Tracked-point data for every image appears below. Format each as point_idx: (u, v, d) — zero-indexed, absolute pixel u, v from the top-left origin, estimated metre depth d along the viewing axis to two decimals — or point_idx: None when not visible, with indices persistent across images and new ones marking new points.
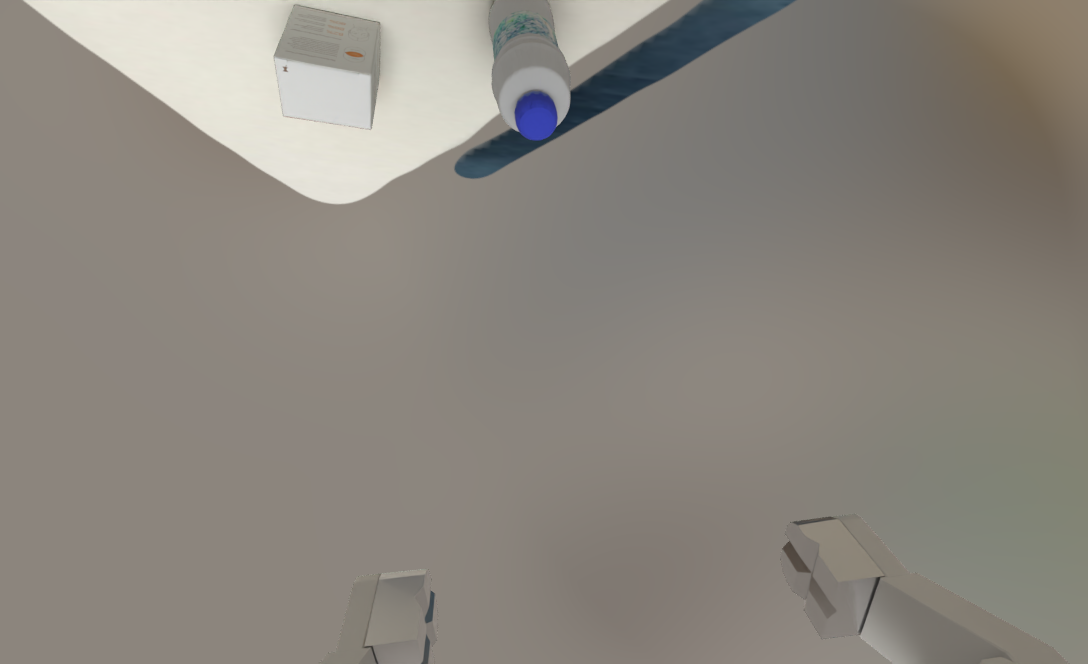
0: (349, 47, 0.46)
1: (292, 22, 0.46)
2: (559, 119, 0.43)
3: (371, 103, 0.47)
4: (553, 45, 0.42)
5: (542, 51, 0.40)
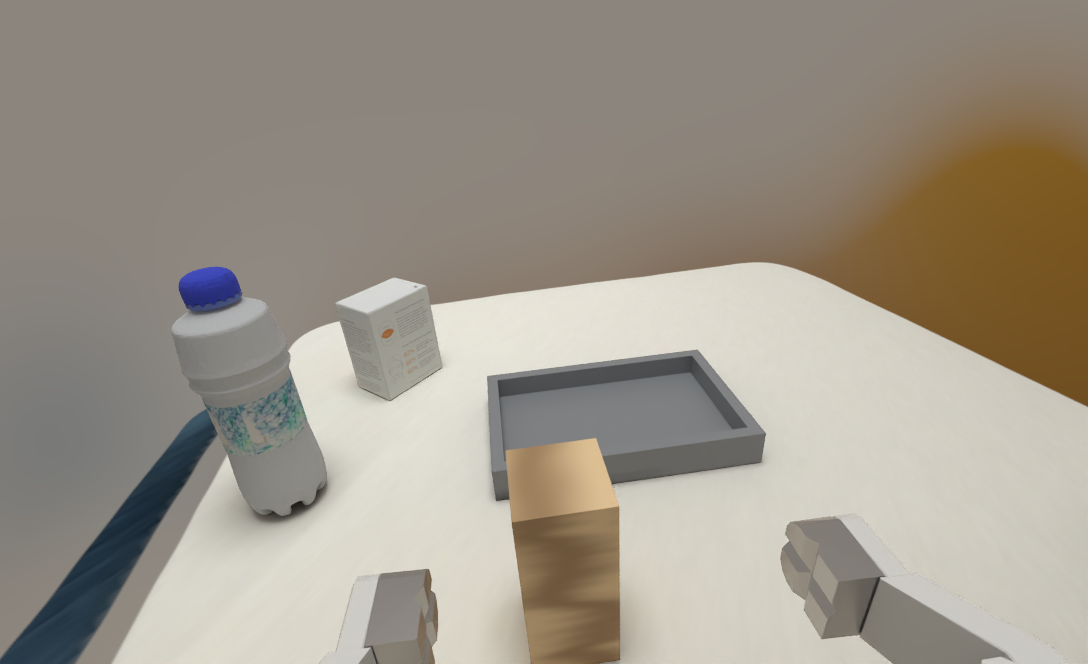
0: (394, 340, 0.53)
1: (434, 339, 0.57)
2: (177, 323, 0.34)
3: (350, 310, 0.51)
4: (243, 386, 0.34)
5: (252, 353, 0.34)
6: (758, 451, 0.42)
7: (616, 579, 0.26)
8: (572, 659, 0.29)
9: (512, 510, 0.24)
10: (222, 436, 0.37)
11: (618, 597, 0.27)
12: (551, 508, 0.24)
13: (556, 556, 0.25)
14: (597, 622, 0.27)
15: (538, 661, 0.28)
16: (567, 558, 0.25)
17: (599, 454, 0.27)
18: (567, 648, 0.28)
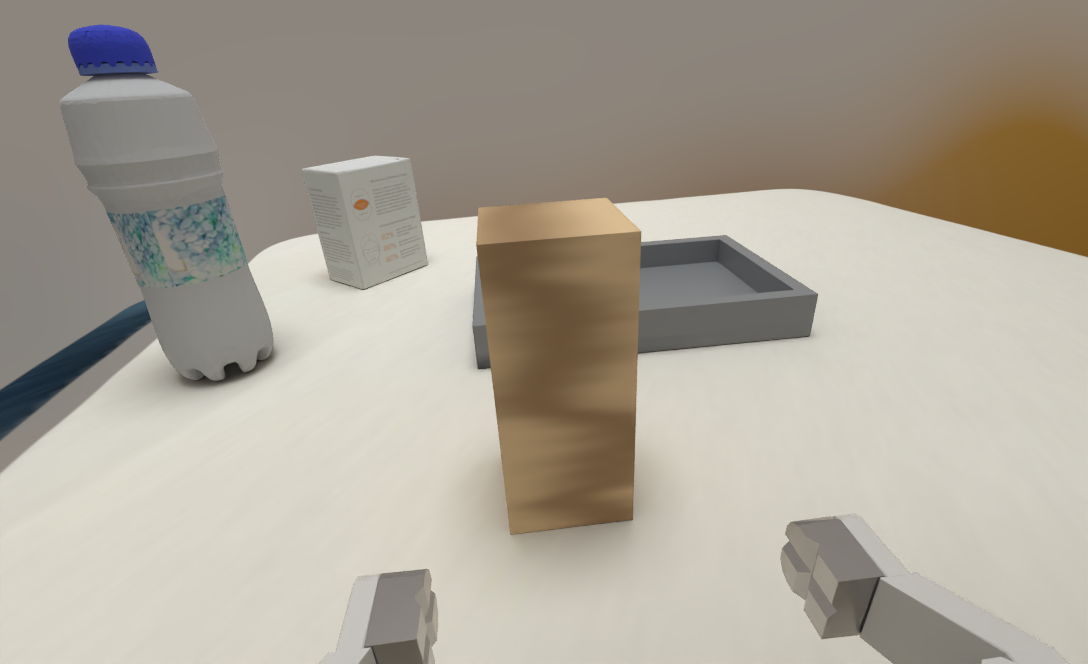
0: (369, 215, 0.45)
1: (418, 228, 0.50)
2: None
3: (318, 173, 0.43)
4: (151, 182, 0.27)
5: (164, 139, 0.27)
6: (807, 320, 0.33)
7: (632, 374, 0.18)
8: (566, 513, 0.20)
9: (479, 238, 0.16)
10: (131, 260, 0.29)
11: (634, 408, 0.18)
12: (539, 235, 0.16)
13: (544, 320, 0.17)
14: (603, 451, 0.19)
15: (518, 512, 0.20)
16: (560, 327, 0.17)
17: (611, 205, 0.19)
18: (559, 493, 0.20)
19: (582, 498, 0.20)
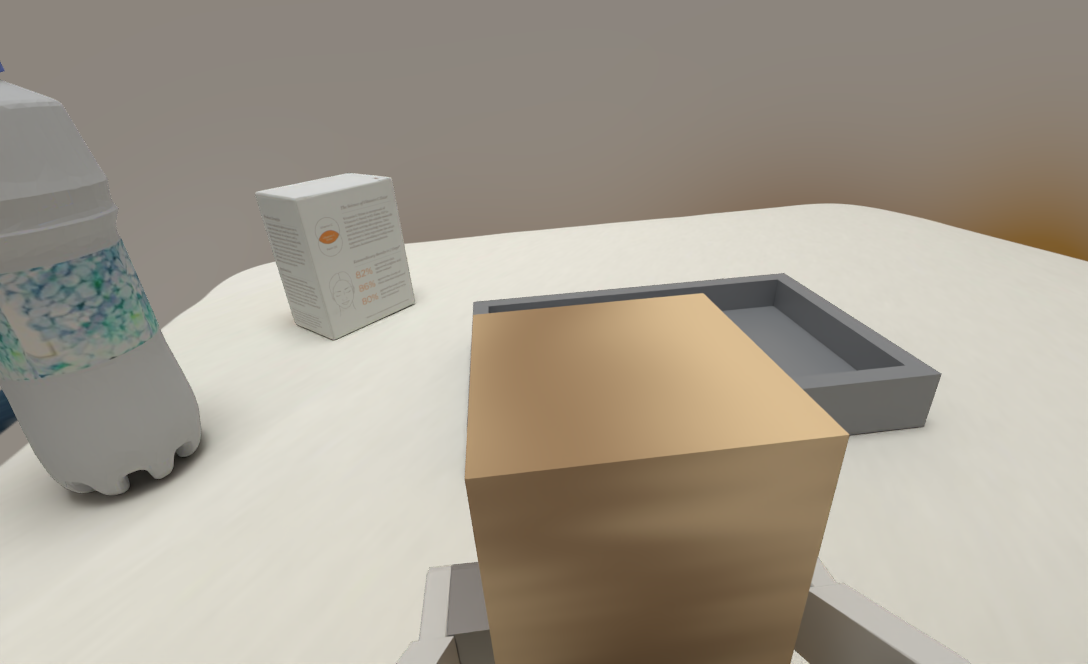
0: (340, 250, 0.36)
1: (403, 261, 0.41)
2: None
3: (273, 198, 0.34)
4: None
5: (2, 170, 0.18)
6: (923, 407, 0.25)
7: None
8: None
9: (472, 443, 0.07)
10: None
11: None
12: (609, 438, 0.07)
13: (614, 602, 0.08)
14: None
15: None
16: (648, 609, 0.08)
17: (724, 320, 0.10)
18: None
19: None
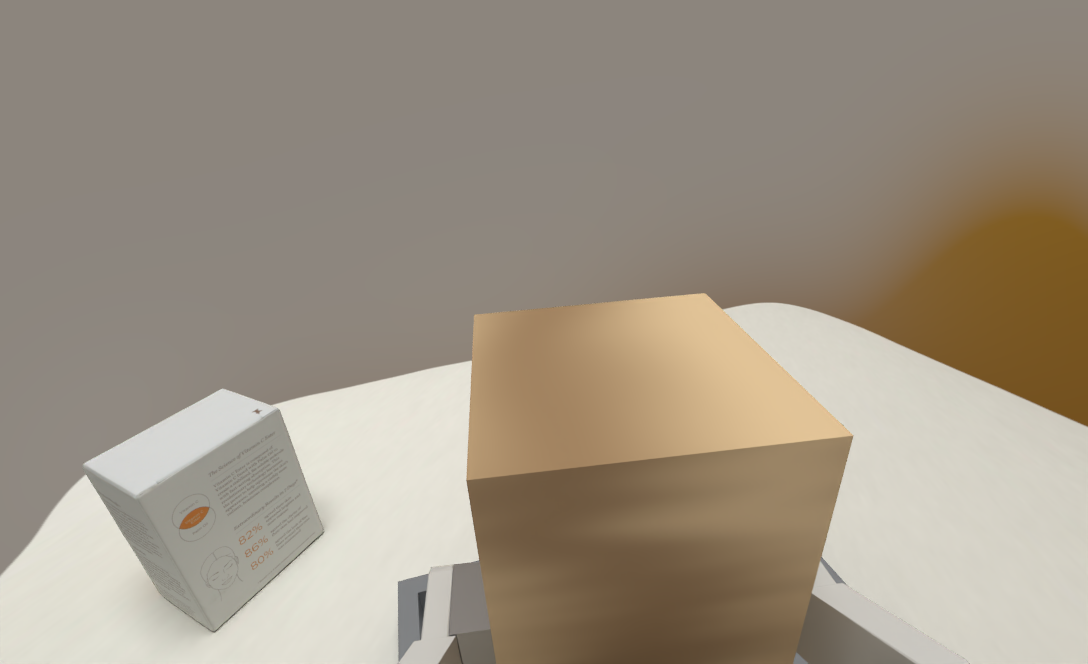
0: (212, 525, 0.28)
1: (303, 494, 0.33)
2: None
3: (107, 482, 0.25)
4: None
5: None
6: None
7: None
8: None
9: (474, 443, 0.07)
10: None
11: None
12: (611, 438, 0.07)
13: (616, 604, 0.08)
14: None
15: None
16: (649, 611, 0.08)
17: (725, 320, 0.10)
18: None
19: None
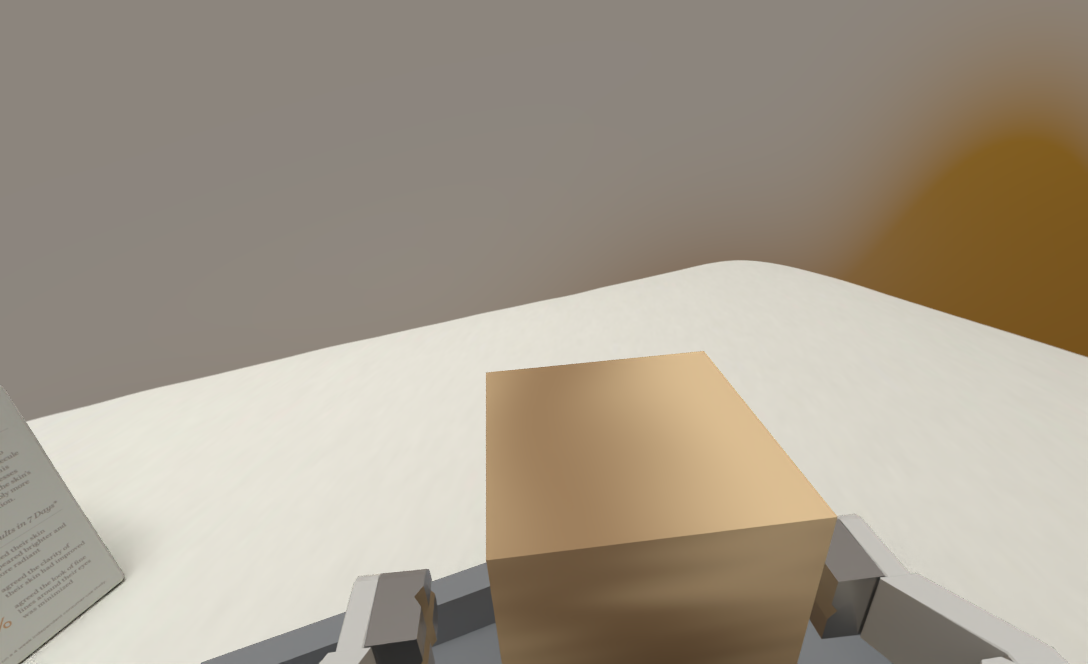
0: None
1: (73, 523, 0.20)
2: None
3: None
4: None
5: None
6: None
7: None
8: None
9: (491, 520, 0.08)
10: None
11: None
12: (616, 517, 0.07)
13: (621, 662, 0.08)
14: None
15: None
16: None
17: (722, 383, 0.10)
18: None
19: None
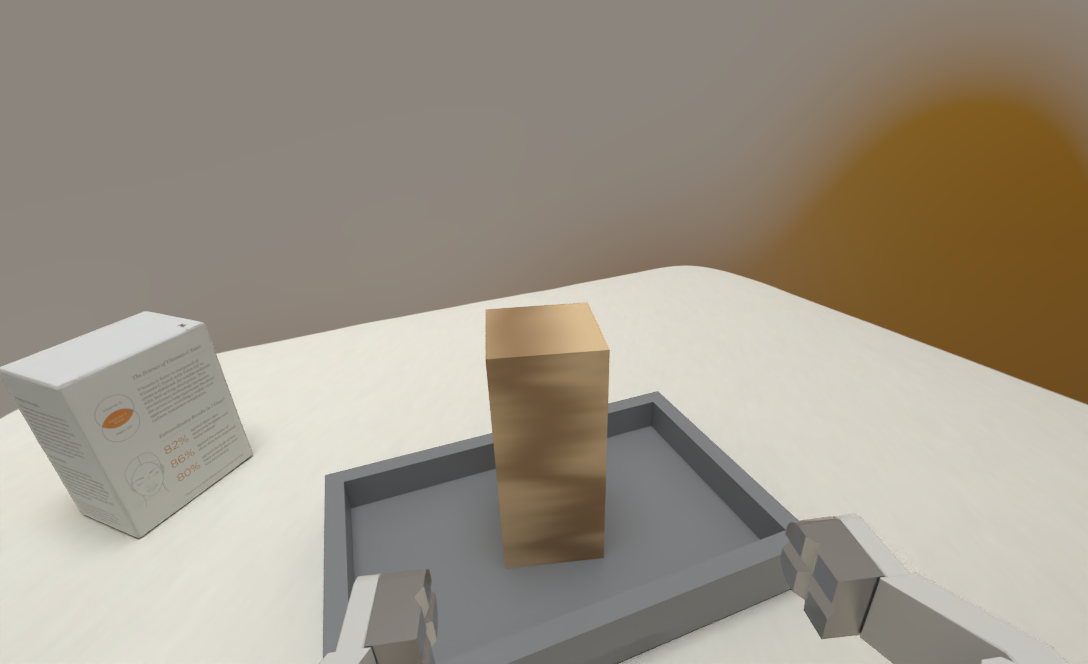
0: (137, 429, 0.28)
1: (230, 413, 0.34)
2: None
3: (25, 381, 0.26)
4: None
5: None
6: None
7: (603, 449, 0.23)
8: (550, 552, 0.25)
9: (487, 350, 0.21)
10: None
11: (604, 474, 0.24)
12: (532, 350, 0.21)
13: (535, 411, 0.22)
14: (580, 505, 0.24)
15: (512, 551, 0.25)
16: (548, 415, 0.22)
17: (590, 314, 0.24)
18: (545, 537, 0.25)
19: (563, 541, 0.25)
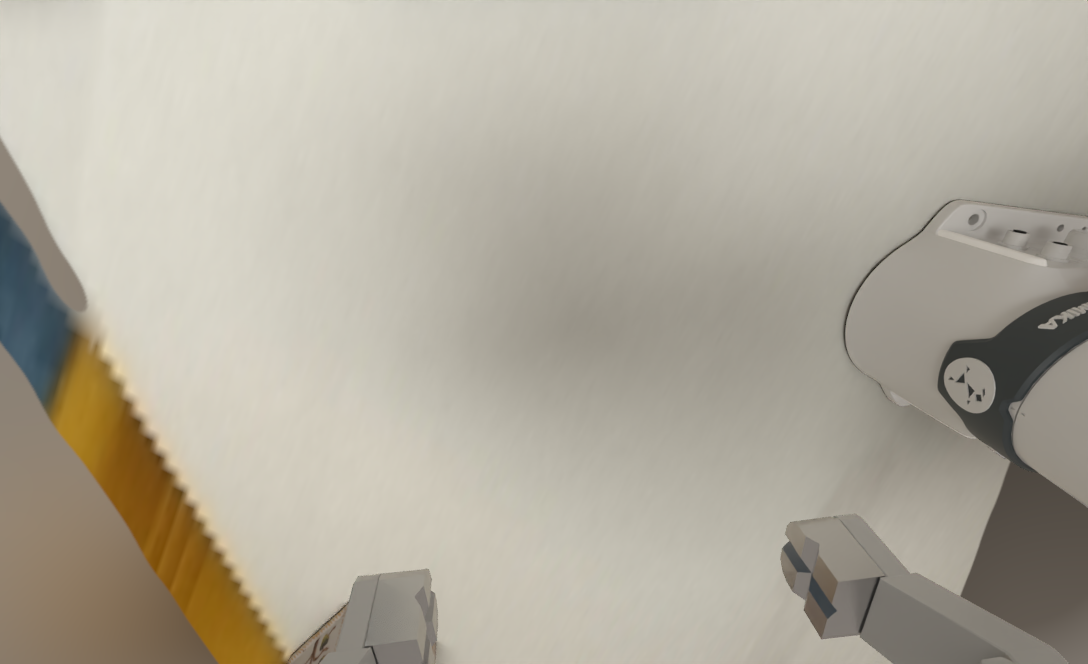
0: None
1: None
2: None
3: None
4: None
5: None
6: None
7: None
8: None
9: None
10: None
11: None
12: None
13: None
14: None
15: None
16: None
17: None
18: None
19: None
